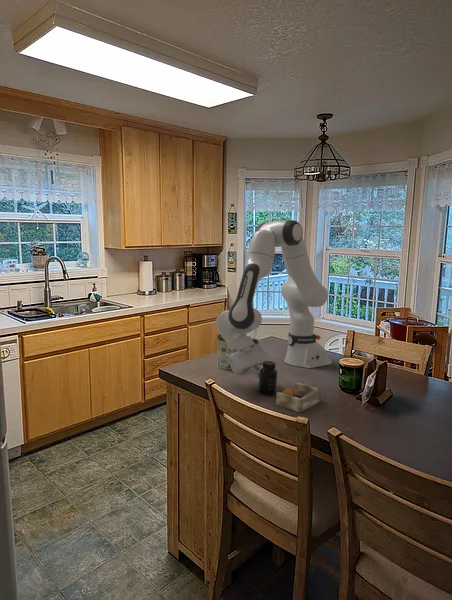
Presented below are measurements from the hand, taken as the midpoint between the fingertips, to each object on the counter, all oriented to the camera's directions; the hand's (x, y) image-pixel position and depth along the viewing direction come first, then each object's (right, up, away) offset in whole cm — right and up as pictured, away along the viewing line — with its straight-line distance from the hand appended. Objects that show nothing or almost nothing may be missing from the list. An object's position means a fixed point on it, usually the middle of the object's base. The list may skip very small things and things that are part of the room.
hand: (259, 377), depth 167 cm
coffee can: (-12, 0, +29) cm, 32 cm away
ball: (+10, -5, -7) cm, 13 cm away
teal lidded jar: (-5, +1, +40) cm, 41 cm away
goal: (+13, -8, -9) cm, 18 cm away
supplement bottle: (+3, -6, -1) cm, 6 cm away
